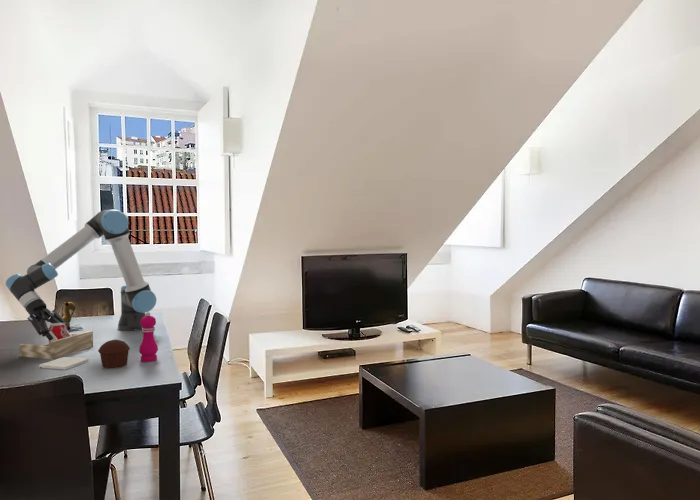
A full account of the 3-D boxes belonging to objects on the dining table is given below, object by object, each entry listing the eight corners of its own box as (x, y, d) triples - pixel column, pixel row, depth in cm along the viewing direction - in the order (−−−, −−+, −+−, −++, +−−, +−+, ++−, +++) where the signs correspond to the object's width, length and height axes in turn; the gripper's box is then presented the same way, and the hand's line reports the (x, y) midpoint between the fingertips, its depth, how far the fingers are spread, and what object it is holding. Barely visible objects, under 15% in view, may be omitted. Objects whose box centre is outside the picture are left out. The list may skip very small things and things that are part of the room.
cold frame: (93, 345, 234) (92, 330, 233) (52, 359, 211) (51, 342, 211) (62, 343, 237) (62, 328, 237) (19, 356, 215) (19, 339, 215)
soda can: (59, 353, 220) (58, 325, 219) (45, 352, 221) (44, 325, 221) (71, 349, 227) (70, 322, 226) (57, 348, 228) (56, 321, 228)
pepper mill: (142, 357, 214) (141, 310, 213) (160, 357, 215) (159, 310, 214) (136, 362, 207) (136, 313, 206) (155, 362, 208) (154, 313, 207)
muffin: (116, 360, 210) (115, 336, 210) (136, 363, 206) (136, 339, 205) (91, 367, 199) (91, 342, 199) (112, 371, 195) (112, 345, 194)
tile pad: (88, 361, 208) (87, 359, 208) (65, 369, 196) (65, 367, 196) (63, 359, 211) (63, 356, 211) (39, 367, 199) (39, 364, 199)
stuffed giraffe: (83, 330, 266) (81, 300, 265) (43, 335, 256) (41, 304, 255) (79, 326, 279) (77, 297, 278) (41, 331, 269) (39, 301, 268)
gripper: (46, 305, 237) (77, 342, 234) (8, 313, 217) (41, 353, 214) (56, 295, 235) (86, 331, 232) (18, 301, 216) (51, 342, 213)
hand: (64, 342), depth 223 cm, fingers closed on soda can, 7 cm apart
